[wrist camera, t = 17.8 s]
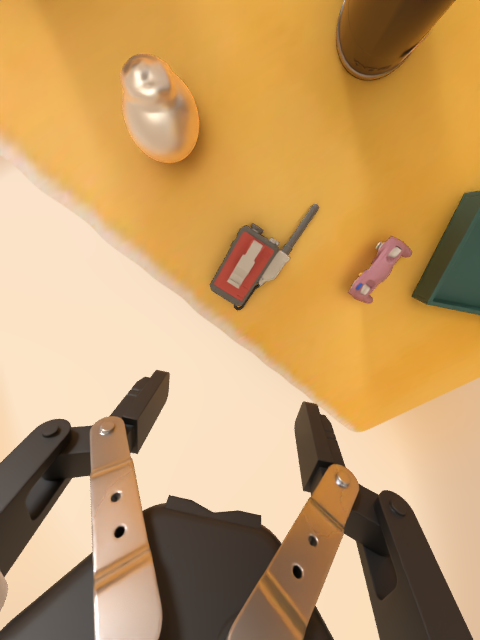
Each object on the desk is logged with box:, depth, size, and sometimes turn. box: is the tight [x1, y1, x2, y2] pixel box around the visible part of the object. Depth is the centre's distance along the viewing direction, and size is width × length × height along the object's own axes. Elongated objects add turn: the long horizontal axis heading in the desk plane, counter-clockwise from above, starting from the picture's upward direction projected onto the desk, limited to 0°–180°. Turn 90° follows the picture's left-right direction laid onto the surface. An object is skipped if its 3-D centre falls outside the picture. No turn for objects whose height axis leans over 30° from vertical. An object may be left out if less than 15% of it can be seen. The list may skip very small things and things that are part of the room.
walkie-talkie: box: [210, 204, 319, 310], centre depth 35 cm, size 9×4×20 cm
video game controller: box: [348, 236, 412, 303], centre depth 34 cm, size 10×5×7 cm, turn 152°
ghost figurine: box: [120, 54, 199, 163], centre depth 27 cm, size 9×10×10 cm
